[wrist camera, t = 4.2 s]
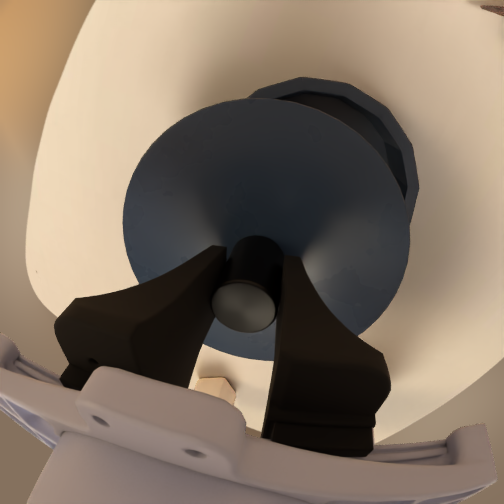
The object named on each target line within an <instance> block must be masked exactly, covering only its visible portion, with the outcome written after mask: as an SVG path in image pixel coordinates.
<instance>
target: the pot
mask: <svg viewBox="0 0 504 504" xmlns="http://www.w3.org/2000/svg"><path fill="white" fill-rule="evenodd" d="M248 98H271V99H278V100H284V101H290V102H296V103H299V104H302V105H305V106H309V107H312V108H315V109H318V110H320V111H322V112H324V113H326V114H328V115H330V116H332V117H334V118H336V119H338V120H340V121H341V122H343V123H344V124H346V125H347V126H349V127H350V128H351V129H353V130H354V131H356V132H357V133H358V134H360V135H361V136H362V137H363V138H364V139H365V140H366V141H367V142H368V143H369V144H370V145H371V146H372V147H373V148H374V149H375V150H376V151H377V152H378V154H379V155H380V156H381V158H382V159H383V160H384V162H385V163H386V164H387V166H388V167H389V168H390V170H391V172H392V174H393V176H394V178H395V179H396V181H397V183H398V185H399V187H400V190H401V193H402V196H403V199H404V201H405V204H406V208H407V214H408V219H409V225H410V223H411V219H412V215H413V211H414V208H415V204H416V199H417V195H418V191H419V181H418V175H417V168H416V162H415V157H414V151H413V147H412V144H411V142H410V141H409V139H408V138H407V136H406V134H405V133H404V131H403V130H402V128H401V127H400V125H399V124H398V122H397V121H396V119H395V118H394V116H393V115H392V113H391V112H390V111H389V109H388V108H387V107H385V106H384V105H382V104H381V103H379V102H378V101H376V100H375V99H373V98H372V97H370V96H369V95H367V94H365V93H364V92H362V91H361V90H359V89H357V88H356V87H354V86H352V85H351V84H347V83H343V82H337V81H331V80H324V79H317V78H308V77H298V78H295V79H291V80H287V81H284V82H281V83H277V84H274V85H271V86H267V87H264V88H261V89H258V90H257V91H255V92H254V93H252V94H251V95H250V96H249V97H248Z"/></svg>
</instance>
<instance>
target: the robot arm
mask: <svg viewBox="0 0 504 504" xmlns="http://www.w3.org/2000/svg"><path fill="white" fill-rule="evenodd" d="M226 260H227V247H225V246H217V245H212V246H210V247H208V248H207V249H205V250H203V251H202V252H200V253H199V254H197V255H196V256H194V257H193V258H191V259H189V260H188V261H186V262H185V263H183V264H181V265H179V266H178V267H176V268H174V269H172V270H170V271H169V272H167V273H165V274H163V275H161V276H159V277H156V278H154V279H152V280H149V281H147V282H145V283H142V284H139V285H136V286H133V287H130V288H127V289H124V290H120V291H116V292H112V293H107V294H102V295H97V296H90V297H83V298H75V299H74V301H73V302H72V303H71V304H70V305H69V306H68V307H67V308H66V309H65V310H64V312H63V313H62V314H61V315H60V316H59V317H58V318H57V319H56V321H55V324H54V329H55V335H56V337H57V340H58V342H59V344H60V346H61V348H62V350H63V352H64V354H65V356H66V358H67V360H68V362H69V365H68V367H67V368H66V369H65V371H64V372H63V374H62V375H61V376H60V375H58V374H56V373H54V372H52V371H50V370H48V369H46V368H44V367H42V366H41V365H38V364H37V363H35V362H33V361H31V360H30V359H28V358H26V357H24V356H23V355H21V354H20V352H19V350H18V348H17V346H16V345H15V343H14V342H13V341H12V340H11V339H10V338H9V337H7V336H5V335H4V334H2V333H1V332H0V410H2V411H3V412H4V413H5V414H7V415H8V416H9V417H10V418H11V419H13V420H14V421H15V422H16V423H18V424H19V425H20V426H21V427H23V428H24V429H25V430H27V431H28V432H29V433H31V434H32V435H34V436H35V437H36V438H38V439H39V440H40V441H42V442H43V443H44V444H46V445H47V446H49V447H50V448H52V449H53V452H52V454H51V456H50V458H49V460H48V461H47V463H46V465H45V467H44V469H43V471H42V473H41V475H40V477H39V479H38V481H37V483H36V485H35V486H34V489H33V490H32V493H31V495H30V497H29V499H28V501H27V503H26V504H457V503H459V502H461V501H463V500H465V499H467V498H469V497H471V496H473V495H474V494H476V493H478V492H479V491H481V490H483V489H485V488H487V487H488V486H490V485H491V484H493V483H495V482H496V481H497V473H496V468H495V463H494V458H493V454H492V449H491V445H490V441H489V437H488V433H487V429H486V426H485V423H480V424H475V425H469V426H464V427H460V428H458V429H456V430H455V431H453V432H452V433H451V434H450V435H449V436H448V437H447V438H446V439H444V440H437V441H428V442H419V443H407V444H393V445H374V430H373V428H374V427H375V424H376V419H375V414H376V412H377V411H378V409H379V408H380V407H381V405H382V404H383V403H384V401H385V400H386V398H387V397H388V395H389V393H390V391H391V381H390V375H389V371H388V368H387V364H386V362H385V359H384V356H383V353H381V352H379V351H378V350H376V349H375V348H373V347H372V346H370V345H369V344H367V343H366V342H364V341H363V340H361V339H360V338H359V337H358V336H356V335H355V334H354V333H353V332H351V331H350V330H349V329H348V328H347V327H346V326H345V325H344V324H343V323H342V322H341V321H340V320H339V319H338V318H337V317H336V316H335V315H334V314H333V313H332V312H331V311H330V310H329V308H328V307H327V306H326V304H325V303H324V302H323V300H322V299H321V297H320V296H319V294H318V292H317V291H316V289H315V287H314V286H313V284H312V282H311V280H310V278H309V276H308V274H307V272H306V270H305V267H304V265H303V262H302V259H301V258H300V257H297V256H290V255H285V257H284V264H283V271H282V278H281V289H280V299H279V306H278V312H277V316H276V329H275V351H274V364H273V371H272V377H271V383H270V389H269V395H268V400H267V406H266V411H265V417H264V422H263V428H262V434H261V438H258V437H255V436H252V435H248V434H246V433H245V431H246V421H245V419H244V417H243V415H242V412H241V411H240V410H239V409H237V408H236V407H234V406H233V405H231V404H230V403H229V402H227V401H226V400H224V399H221V398H218V397H215V396H213V395H210V394H207V393H204V392H200V391H195V390H191V389H188V387H189V383H190V380H191V376H192V373H193V370H194V367H195V364H196V361H197V357H198V354H199V352H200V349H201V347H202V344H203V342H204V340H205V338H206V336H207V334H208V331H209V329H210V327H211V325H212V323H213V321H214V319H215V316H214V314H213V312H212V309H211V305H210V298H211V295H212V292H213V290H214V288H215V286H216V284H217V281H218V279H219V277H220V275H221V273H222V271H223V269H224V266H225V264H226Z"/></svg>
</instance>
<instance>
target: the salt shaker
mask: <svg viewBox="0 0 504 504" xmlns="http://www.w3.org/2000/svg"><path fill="white" fill-rule="evenodd" d="M194 390H195V391H200V392H204V393H207V394H210V395H213V396H215V397H218V398H221V399H224V400H226V401H227V402H229V403H230V404H231V405H233V406H234V402H235V398H236V394H235V391H234V390H233V388H232V387H231V386H230V384H229V383H228V381H227V380H226V379H225V378H222V377H217V378H201V379H199V380H198V381H197V383H196V386H195V389H194Z"/></svg>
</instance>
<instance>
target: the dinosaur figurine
mask: <svg viewBox="0 0 504 504" xmlns="http://www.w3.org/2000/svg"><path fill="white" fill-rule="evenodd" d="M480 7H481V8H482V9H485V10H488V11H490V12H493V13H496V14H499V15H502V16H504V7H503V6H502V7H500V6H484V5H482V6H480Z"/></svg>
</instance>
